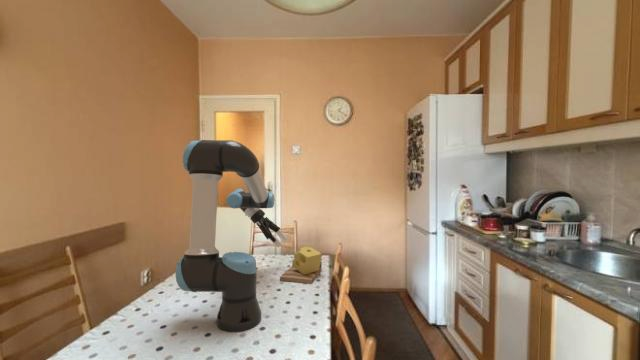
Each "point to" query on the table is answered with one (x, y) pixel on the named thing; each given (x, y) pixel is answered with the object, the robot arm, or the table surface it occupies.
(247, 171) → the robot arm
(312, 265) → the cheese
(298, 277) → the walnut board
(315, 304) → the table surface
